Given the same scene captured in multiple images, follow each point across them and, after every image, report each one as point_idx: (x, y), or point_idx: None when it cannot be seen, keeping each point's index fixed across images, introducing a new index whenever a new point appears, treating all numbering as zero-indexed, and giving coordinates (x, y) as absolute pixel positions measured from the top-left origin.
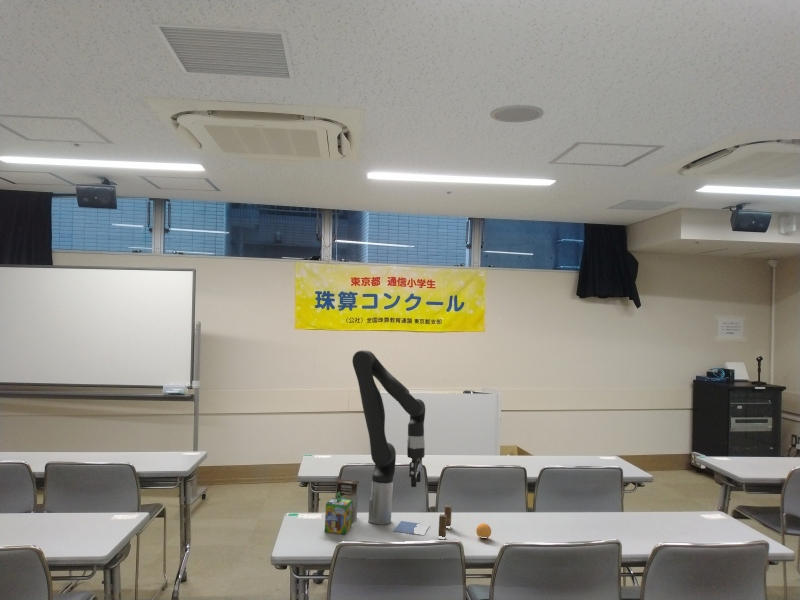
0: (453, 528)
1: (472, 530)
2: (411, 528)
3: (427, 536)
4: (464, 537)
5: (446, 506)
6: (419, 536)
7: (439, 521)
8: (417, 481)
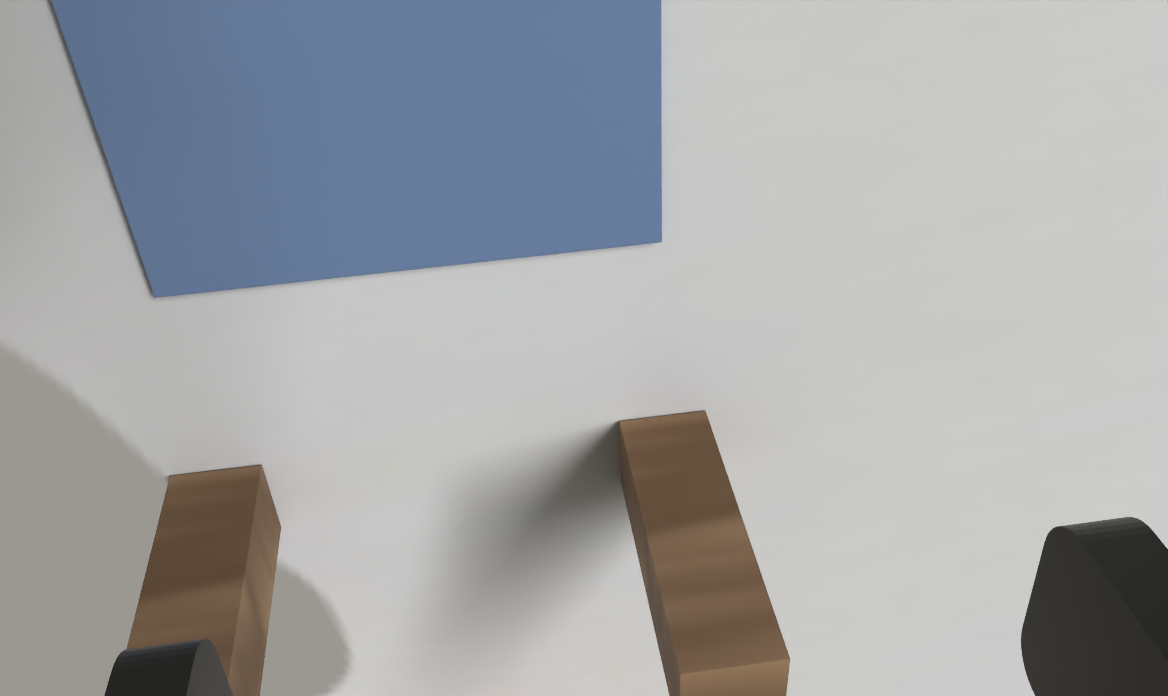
0: None
1: None
2: (331, 22)
3: (174, 337)
4: (433, 654)
5: (709, 686)
6: (86, 243)
7: None
8: (1045, 592)
